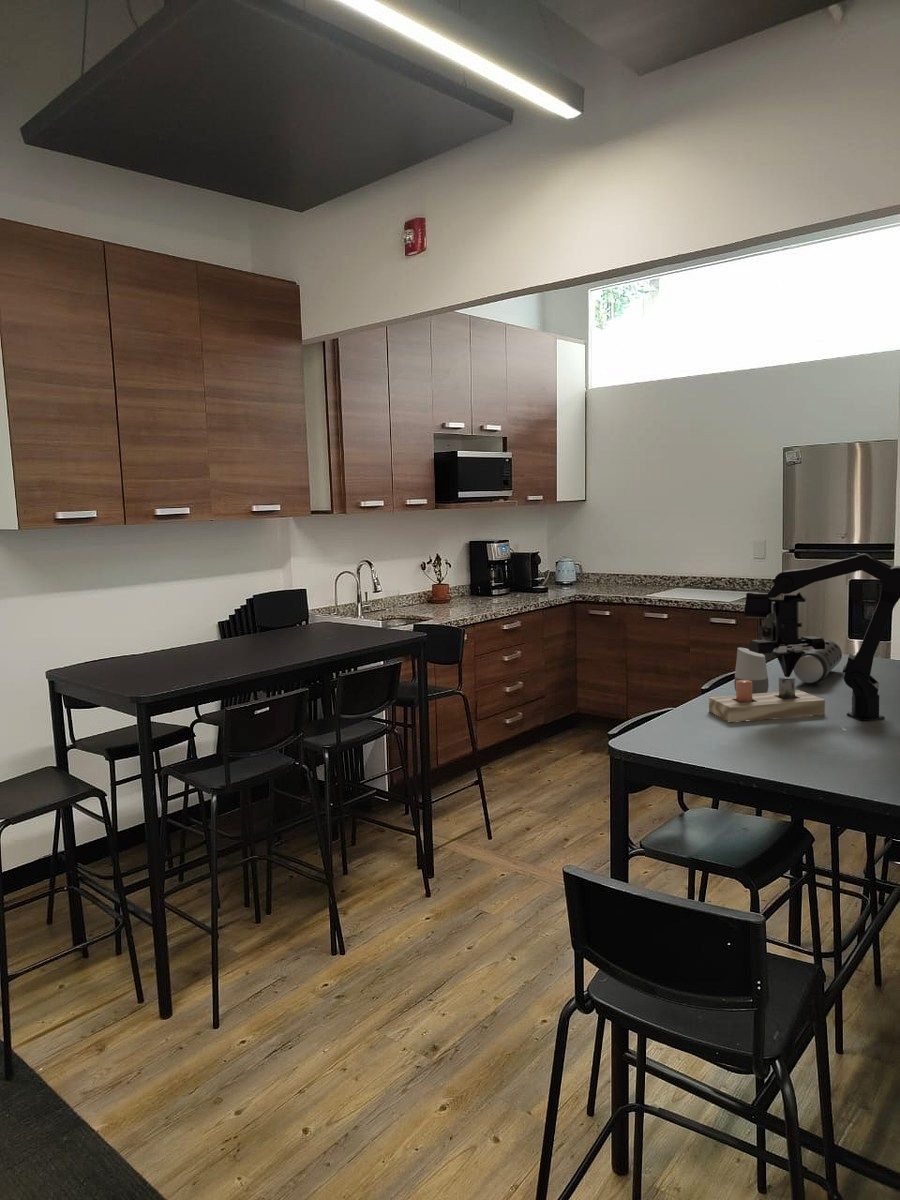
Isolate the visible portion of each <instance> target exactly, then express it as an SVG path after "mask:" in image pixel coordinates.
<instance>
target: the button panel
mask: <svg viewBox="0 0 900 1200" xmlns="http://www.w3.org/2000/svg"><path fill="white" fill-rule="evenodd" d="M825 701H826V699H824V698H821V697H818V696H816V695H813V694H810V693H808V692H805V691H802V690H800V689H795V699H785V700H783V699H781V698H779V691H774V692H772V691H771V692H769V691H768V692H767V693H757V694H752V702H747V703H739V702H737V701H736V694H735V695H724V696H723V695H721V696H712V697H711V696H709V697H708V712H709V713H710V712H711V714H712V713H713V715H714V714H715V715H714V716H716V715H717V716H716V717H718V716H719V717H718V718H720V717H721V718H720V719H722V718H723V719H722V720H724V719H725V720H724V721H726V720H727V721H726V722H728V721H729V722H734V723H737V722H736V721H746V720H758V721H763V720H762V719H770V720H774V719H773V718H782V719H790V718H789V717H794V718H803V717H802V716H806V717H811V716H810V715H818V716H823V715H822V714H826V710H825V709H826V706H825V705H826V702H825ZM729 722H728V723H729ZM746 722H747V721H746Z"/></svg>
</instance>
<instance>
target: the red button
mask: <svg viewBox="0 0 900 1200" xmlns="http://www.w3.org/2000/svg"><path fill="white" fill-rule="evenodd" d="M735 695H736V701H737V702H739V703H747V702H752V681H749V680H738V681H736V691H735Z"/></svg>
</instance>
